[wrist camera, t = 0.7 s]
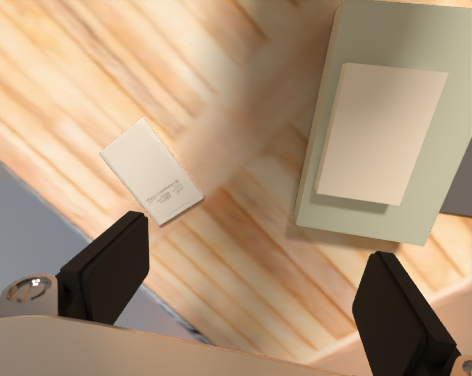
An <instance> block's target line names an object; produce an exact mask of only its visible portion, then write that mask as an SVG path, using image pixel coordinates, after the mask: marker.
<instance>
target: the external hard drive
mask: <svg viewBox="0 0 472 376" xmlns="http://www.w3.org/2000/svg"><path fill="white" fill-rule="evenodd" d="M99 155H100V156H101V157H102V158H103V159H104V161H105V162H106V163H107V164H108V165H109V167H110V168H111V169H112V170H113V171H114V173H115V174H116V175H117V176H118V177H119V179H120V180H121V181H122V182H123V183H124V185H125V186H126V187H127V188H128V189H129V191H130V192H131V193H132V194H133V195H134V197H135V198H136V199H137V200H138V201H139V203H140V204H141V205H142V206H143V207H144V209H145V210H146V211H147V212H148V213H149V214H150V216H151V217H152V218H153V219H154V221H155V222H156V223H157V224H158V225H159V226H160V225H162V224H163V223H165V222H167V221H168V220H170V219H171V218H173V217H174V216H176V215H178V214H179V213H181V212H183V211H184V210H186V209H187V208H189V207H191V206H192V205H194V204H195V203H197V202H199V201H200V200H202V199H203V198H204V194H203V193H202V192H201V190H200V189H199V187H198V186H197V185H196V183H195V182H194V181H193V179H192V178H191V177H190V175H189V174H188V173H187V171H186V170H185V169H184V167H183V166H182V165H181V163H180V162H179V161H178V159H177V158H176V157H175V155H174V154H173V153H172V152H171V150H170V149H169V147H168V146H167V145H166V144H165V142H164V141H163V139H162V138H161V137H160V136H159V134H158V133H157V132H156V130H155V129H154V128H153V126H152V125H151V124H150V122H149V121H148V120H147V118H146V117H143V118H141V119H140V120H138V121H137V122H136V123H135V124H134V125H132V126H131V127H130V128H129V129H128V130H126V131H125V132H124V133H123V134H121V135H120V136H119V137H118V138H117V139H115V140H114V141H113V142H112V143H111V144H109V145H108V146H107V147H106V148H104V149H103V150H102V151H101V152H100V153H99Z"/></svg>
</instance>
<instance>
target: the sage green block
mask: <svg viewBox="0 0 472 376" xmlns="http://www.w3.org/2000/svg"><path fill="white" fill-rule="evenodd" d="M345 63H357V64H367V65H377V66H387V67H397V68H407V69H417V70H427V71H437V72H446V73H449V74H448V76H447V79H446V82H445V85H444V87H443V90H442V93H441V95H440V98H439V101H438V103H437V106H436V109H435V112H434V114H433V117H432V120H431V122H430V125H429V128H428V130H427V133H426V136H425V139H424V141H423V144H422V147H421V149H420V152H419V155H418V157H417V160H416V163H415V166H414V168H413V171H412V174H411V176H410V179H409V182H408V184H407V187H406V190H405V193H404V195H403V198H402V201H401V203H400V206H397V205H391V204H384V203H377V202H371V201H364V200H357V199H351V198H344V197H337V196H331V195H324V194H317V193H316V190H315V188H314V185H315V181H316V176H317V172H318V168H319V163H320V159H321V155H322V150H323V146H324V142H325V137H326V133H327V129H328V124H329V120H330V116H331V111H332V107H333V103H334V98H335V94H336V90H337V85H338V81H339V77H340V72H341V68H342V64H345ZM471 137H472V8H462V7H450V6H437V5H424V4H411V3H398V2H386V1H373V0H344V1H343V2H342V3H341V4H340V6H339V7H338V8H337V10H336V11H335V16H334V20H333V25H332V30H331V35H330V40H329V45H328V49H327V54H326V59H325V64H324V69H323V73H322V78H321V83H320V88H319V93H318V97H317V102H316V107H315V112H314V117H313V121H312V126H311V131H310V136H309V141H308V146H307V150H306V155H305V160H304V165H303V170H302V174H301V179H300V184H299V189H298V194H297V198H296V203H295V208H294V214H295V221H296V226H302V227H309V228H315V229H321V230H327V231H333V232H339V233H345V234H352V235H358V236H364V237H370V238H376V239H382V240H389V241H395V242H401V243H407V244H413V245H419V246H424V245H425V243H426V241H427V238H428V236H429V234H430V232H431V229H432V227H433V225H434V222H435V220H436V218H437V215H438V213H439V211H440V209H441V206H442V204H443V202H444V199H445V197H446V195H447V193H448V190H449V188H450V186H451V183H452V181H453V179H454V176H455V174H456V172H457V170H458V167H459V165H460V163H461V160H462V158H463V156H464V154H465V151H466V149H467V147H468V144H469V142H470V140H471Z"/></svg>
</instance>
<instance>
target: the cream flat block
mask: <svg viewBox="0 0 472 376" xmlns="http://www.w3.org/2000/svg"><path fill="white" fill-rule="evenodd" d="M448 74H449V73H446V72H437V71H427V70H417V69H407V68H397V67H387V66H377V65H367V64H357V63H345V64H342V68H341V72H340V77H339V81H338V85H337V90H336V94H335V98H334V103H333V107H332V111H331V116H330V120H329V124H328V129H327V133H326V137H325V142H324V146H323V150H322V155H321V159H320V163H319V168H318V172H317V176H316V181H315V185H314V188H315V190H316V193H317V194H324V195H331V196H337V197H344V198H351V199H357V200H364V201H371V202H377V203H384V204H391V205H397V206H400V203H401V201H402V198H403V195H404V193H405V190H406V187H407V184H408V182H409V179H410V176H411V174H412V171H413V168H414V166H415V163H416V160H417V157H418V155H419V152H420V149H421V147H422V144H423V141H424V139H425V136H426V133H427V130H428V128H429V125H430V122H431V120H432V117H433V114H434V112H435V109H436V106H437V103H438V101H439V98H440V95H441V93H442V90H443V87H444V85H445V82H446V79H447V76H448Z"/></svg>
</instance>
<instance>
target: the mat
mask: <svg viewBox="0 0 472 376" xmlns="http://www.w3.org/2000/svg"><path fill="white" fill-rule="evenodd" d="M440 211H441V212H447V213H454V214H461V215H468V216H472V137H471V140H470V142H469V144H468V147H467V149H466V151H465V154H464V156H463V158H462V160H461V163H460V165H459V167H458V170H457V172H456V174H455V176H454V179H453V181H452V183H451V186H450V188H449V190H448V193H447V195H446V197H445V199H444V202H443V204H442V206H441V209H440Z"/></svg>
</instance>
